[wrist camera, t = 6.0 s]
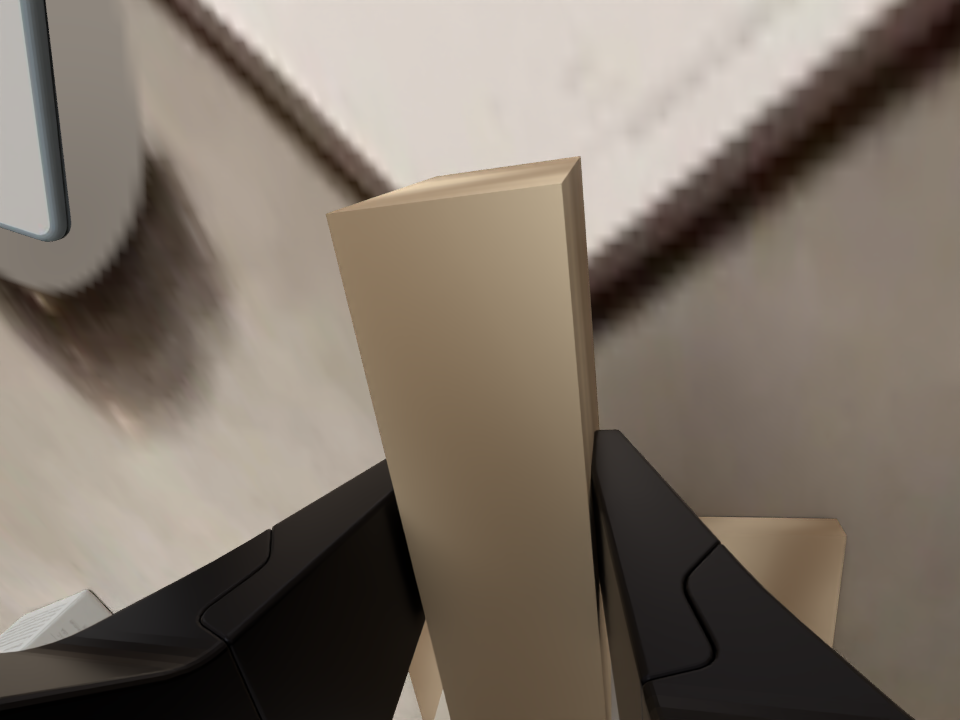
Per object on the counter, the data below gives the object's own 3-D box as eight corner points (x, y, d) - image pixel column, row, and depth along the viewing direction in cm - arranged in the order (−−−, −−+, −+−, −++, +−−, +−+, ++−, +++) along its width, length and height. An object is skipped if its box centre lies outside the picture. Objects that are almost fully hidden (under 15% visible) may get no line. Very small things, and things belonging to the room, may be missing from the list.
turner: (667, 144, 8) (714, 162, 5) (674, 742, 13) (699, 969, 10) (365, 186, 9) (218, 228, 6) (480, 719, 15) (439, 912, 11)
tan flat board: (836, 518, 17) (846, 536, 16) (804, 790, 22) (811, 812, 22) (375, 512, 21) (366, 525, 20) (439, 743, 26) (434, 760, 26)
